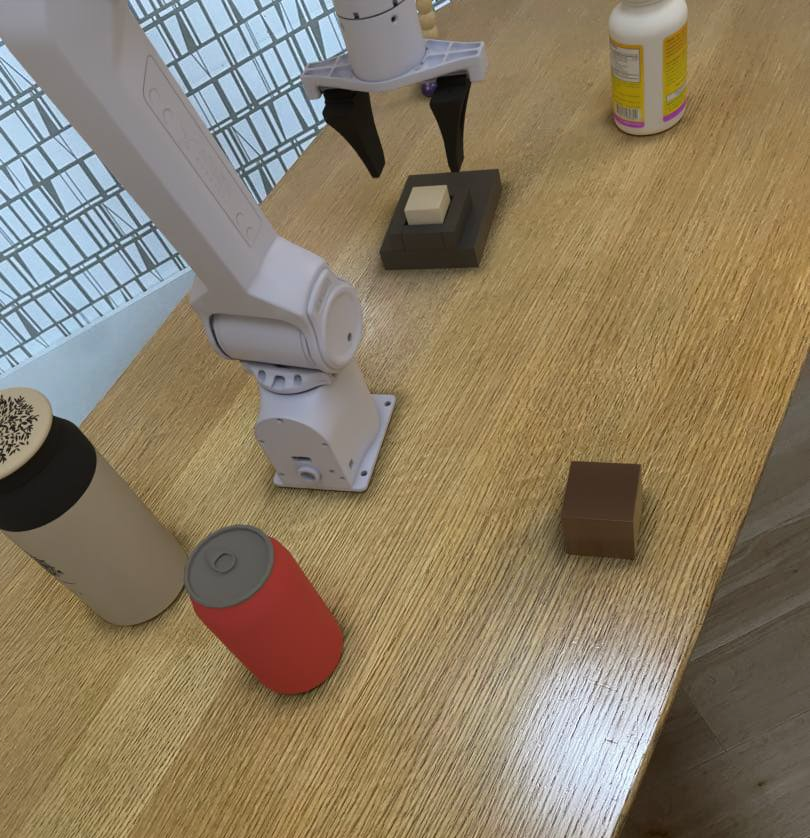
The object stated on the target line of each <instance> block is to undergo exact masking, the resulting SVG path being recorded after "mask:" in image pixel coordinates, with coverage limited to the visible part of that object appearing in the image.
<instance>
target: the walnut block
mask: <svg viewBox="0 0 810 838" xmlns="http://www.w3.org/2000/svg"><path fill="white" fill-rule="evenodd" d="M642 466H643V465H642V464H641V463H627V462H626V463H625V462H624V463H623V462H603V461H584V460H571V461H570V465H569V470H568V476H567V480H566V485H565V491H564V495H563V500H562V505H561V511H560V521H561V528H562V534H563V539H564V545H565V551H566V554H567V555H577V556H589V557H600V558H601V557H602V558H613V559H625V560H636V558H637V550H638V541H639V534H640V527H641V520H642V513H643V506H644V501H643V500H644V499H643V495H644V494H643V471H642V470H643V468H642Z"/></svg>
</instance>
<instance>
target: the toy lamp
mask: <svg viewBox="0 0 810 838" xmlns="http://www.w3.org/2000/svg"><path fill="white" fill-rule="evenodd" d="M415 4H416V8H417V12H418V17H419V21H420V26H421V30H422V35H423V39H433V40H439V39H438V38H439V30H438V27H437V26H436V14H435V12H434V9H433V0H415ZM436 87H437V83H436V82H428V83H420V88H421V92H422V94H423V95H425V96H427V97H430V98H431V97H432V95H433V92H434V90H435V89H436Z"/></svg>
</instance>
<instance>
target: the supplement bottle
mask: <svg viewBox="0 0 810 838" xmlns="http://www.w3.org/2000/svg"><path fill="white" fill-rule="evenodd" d="M688 15H689V13H688V5H687V3H686V0H620V2H619V3H618V4H616V5H615V7H614V8H613V10H612V11H611V13H610V15H609V18H608V25H607V26H608V27H607V28H608V43H609V44H608V45H609V61H610V76H611V77H610V79H611V97H612V100H611V101H612V112H613V120H614V123H615V125H616V126H617V127H618V128H619V129H620V130H621V131H622V132H624V133H626V134H630V135H634V136H648V135H654V134H659V133H662V132H664V131H666V130H668V129H670V128H672V127H674V125H676V124H678V122H680V121H681V119H682V118H683V116H684V115H685V112H686V108H687V81H688V80H687V79H688V78H687V75H688V22H689V21H688V19H689V17H688Z"/></svg>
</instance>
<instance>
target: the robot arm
mask: <svg viewBox="0 0 810 838" xmlns="http://www.w3.org/2000/svg"><path fill="white" fill-rule="evenodd" d="M331 1H332V5H333V8H334V12H335V16H336V19H337V23H338V25H339V29H340V32H341V36H342V38H343V39H342V40H343V42H344V46H345V49H346V53H343V54H340V55H337V56H332V57H330V58H327V59H323V60H319V61H318V60H317V61H313V62H308V63H307V64H306V65H305V67H304V69H303V71H302V73H301V75H300V76H299V78H300V81H301V84H302V87H303V90H304V93H305V95H306V99H307V100H308V101H314V100H319V99H321V98H322V96H323V98H324V101H323V102H324V107H323V108H322V112H321V114H322V115H321V116H322V117H323V120H324V122H325V123H326V124H327V125H328V126H329V127H331V128H332V129H334V130H335V131H336V132H337V133H338V134H339V135H340V136H341V137H342V138H343V139H344V140H345V141H346V143H348V144H349V145H350V146H351V148H352V149H353V151H354V152H355V154H356V155H357V156H358V158H359V159H360V161H361V162H362V164H363V165H364V166H365V169H367V171H368V174H370V176H371V178H372V179H380V177H381V176H382V173H383V170H384V168H385V166H386V158H385V153H384V149H383V145H382V142H381V139H380V136H379V133H378V128H377V126H376V123H375V119H374V113H373V109H372V102H371V96H370V93H371V94H372V93H373V94H376V93H377V94H378V93H379V94H381V93H387V92H391V91H392V92H393V91H396V90H399V89H402V88H405V87H408V86H412V85H419V84H421V83H428V82H436V83H437V87H436V89H435V90H434V92H433V95H432V97H431V96H430V100H429V109H430V110H431V112H432V114H433V116H434V118H435V121H436V123H437V127H438V128H439V131H440V135H441V137H442V141H443V145H444V146H443V147H444V150H445V151H444V152H445V156H446V157H445V158H446V162H447V165H448V168H449V172H451V173H454V172H460V171H461V169H462V165H463V162H464V160H465V151H464V150H465V149H464V148H465V147H464V135H465V134H464V133H465V132H464V131H465V123H466V122H465V120H466V113H467V108H468V101H469V96H470V93H471V87H472V84H473V83H481V82H484V81H485V78H486V75H487V73H488V69H489V61H488V56H487V50H486V45H485V41H483V40H482V41H474V42H473V41H469V42H468V41H467V42H466V41H453V40H442V39H438V40H433V39H423V35H422V27H421V26H420V21H419V12H418V10H417V8H416V2H415V0H331ZM0 40H1V41H2V42H3V44H4V46H5V47H6V49H7V50H8V51H9V52H10V54H11V55H12V56H13V57H14V58H15V60H16V61H17V62H18V63H19V64H20V66H21V67H22V68H23V69H24V71H26V73H27V74H28V76H29V77H30V78H31V79H32V80H33V81H34V83H35V84H36V85H37V86H38V87H39V89H40V90H41V91H42V92H43V93H44V94H45V95H46V97H47V98H48V99H49V100H50V101H51V103H52V104H53V105H54V106H55V107H56V109H57V110H58V111H59V112H60V114H61V115H62V116H63V117H64V118H65V119H66V121H67V122H68V123H69V124H70V125H71V127H72V128H73V129H74V131H76V133H77V134H78V135H79V136H80V137H81V139H82V140H83V141H84V142H85V143H86V145H87V146H88V147H89V148H90V149H91V151H92V152H93V153H94V154H95V155H96V157H97V158H98V159H99V161H101V162H102V164H103V165H104V166H105V167H106V169H107V170H108V171H109V172H110V173H111V174H112V176H113V177H114V178H115V179H116V181H117V182H118V183H119V184H120V185H121V186H122V187H123V189H124V190H125V191H126V193H128V195H129V196H130V197H131V199H133V201H134V202H135V203H136V205H137V206H138V207H139V208H140V210H141V211H142V212H143V213H144V214H145V215H146V217H148V219H149V220H150V221H151V222H152V224H153V225H154V226H155V227H156V229H158V231H159V232H160V233H161V234H162V235H163V237H164V238H165V239H166V240H167V242H168V243H169V244H170V245H171V247H173V249H174V250H175V251H176V252H177V253H178V254H179V256H180V257H181V258H182V259H183V261H184V262H185V263H186V265H188V267H189V268H190V269H191V270H192V272H193V273H194V274H195V276H194V277H193V281H192V284H191V287H190V294H189V299H188V305H189V307H190V308H191V309H192V310H193V311H194V313H195V314H196V315H197V316H198V318H199V320H200V322H201V324H202V326H203V330H204V332H205V335H206V338H207V340H208V343H209V345H210V347H211V348H212V349H213V351H214V352H215V353H216V355H218V356H219V357H221V358H222V359H225V360H228V361H239V363H240V365H241V366H242V368H243V370H244V372H245V374H247V375H248V374H249V375H251V376H253V377H254V378H255V379H256V382H257V386H258V391H259V407H258V415H257V418H256V422H255V425H254V437H255V439H256V443H258V445H259V447H260V448H261V450H262V452H263V453H264V455H265V456H266V458H267V460H268V461H269V463H270V464H271V466H272V468H273V469H274V472H275V474H274V476H273V478H272V479H273V480H272V482H273V484H274V485H275V486H276V487H281V488H284V487H285V488H294V489H295V488H296V489H309V490H311V489H312V490H325V491H340V492H341V491H342V492H354V493H355V492H357V493H358V492H359V493H362V492H365V491H366V490H367V489H368V487H369V484H370V481H371V478H372V477H373V476H372V475H373V472H374V469H375V466H376V463H377V460H378V457H379V454H380V451H381V448H382V445H383V442H384V440H385V436H386V433H387V430H388V427H389V424H390V421H391V418H392V415H393V413H394V410H395V406H396V403H397V399H396V396H395V395H394V394H385V393H384V394H383V393H381V394H379V393H371V392H370V389H369V386H368V385H367V382H366V380H365V378H364V375H363V372H362V370H361V367H360V365H359V363H358V360H357V357H356V354H357V352H358V350H359V347H360V344H361V341H362V337H363V330H364V315H363V308H362V303H361V300H360V297H359V295H358V293H357V291H356V289H355V287H354V285H353V284H352V283H351V281H350V280H349V279H347V278H345V277H343V276H340V275H337V274H336V273H335V272H334V271H333V270H332V269H331V267H330V265H329V264H328V261H326V259H325V258H324V257H322V256H320V255H318V254H316V253H314V252H312V251H310V250H308V249H306V248H304V247H302V246H300V245H298V244H296V243H294V242H292V241H290V240H288V239H286V238H284V237H283V236H280V235H279V234H278V232H277V231H276V229H275V228H274V226H273V225H272V223H271V222H270V221H269V219H268V217H267V216H266V214H265V213H264V212H263V210H262V208H261V207H260V205H259V203H258V202H257V201H256V199H255V198H254V196H253V195H252V193H251V192H250V190H249V189H248V187H247V186H246V184H245V183H244V180H242V178H241V176H240V175H239V174H238V172H237V170H236V168H234V166H233V164H232V163H231V161H230V160H229V158H228V156H227V155H226V154H225V152H224V151H223V149H222V148H221V146H220V145H219V143H218V142H217V140H216V139H215V137H214V135H213V134H212V132H211V131H210V129H209V127H207V125H206V123H205V122H204V120H203V119H202V117H201V115H200V114H199V113H198V111H197V110H196V108H195V107H194V106H193V104H192V101H190V99H189V97H188V96H187V94H186V93H185V92H184V90H183V89H182V88H181V86H180V83H178V81H177V79H176V78H175V76H174V75H173V73H172V71H171V70H170V68H168V66H167V64H166V63H165V62H164V60H163V58H162V57H161V55H160V54H159V52H158V51H157V49H156V48H155V46H154V44H153V43H152V42H151V40H150V39H149V37H148V36H147V34H146V33H145V31H144V30H143V28H142V26H141V25H140V23H139V21H138V20H137V18H136V17H135V16H134V14H133V13H132V10H130V7H129V4H128V0H0Z"/></svg>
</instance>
